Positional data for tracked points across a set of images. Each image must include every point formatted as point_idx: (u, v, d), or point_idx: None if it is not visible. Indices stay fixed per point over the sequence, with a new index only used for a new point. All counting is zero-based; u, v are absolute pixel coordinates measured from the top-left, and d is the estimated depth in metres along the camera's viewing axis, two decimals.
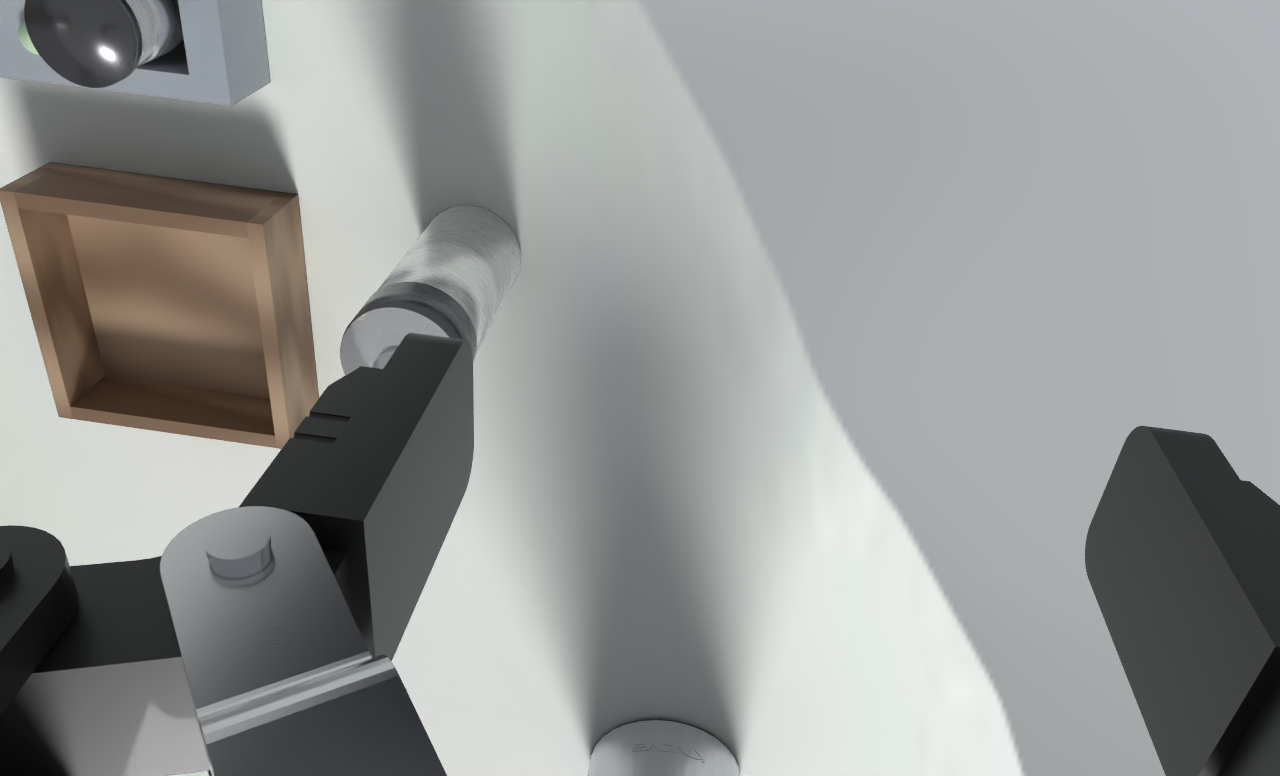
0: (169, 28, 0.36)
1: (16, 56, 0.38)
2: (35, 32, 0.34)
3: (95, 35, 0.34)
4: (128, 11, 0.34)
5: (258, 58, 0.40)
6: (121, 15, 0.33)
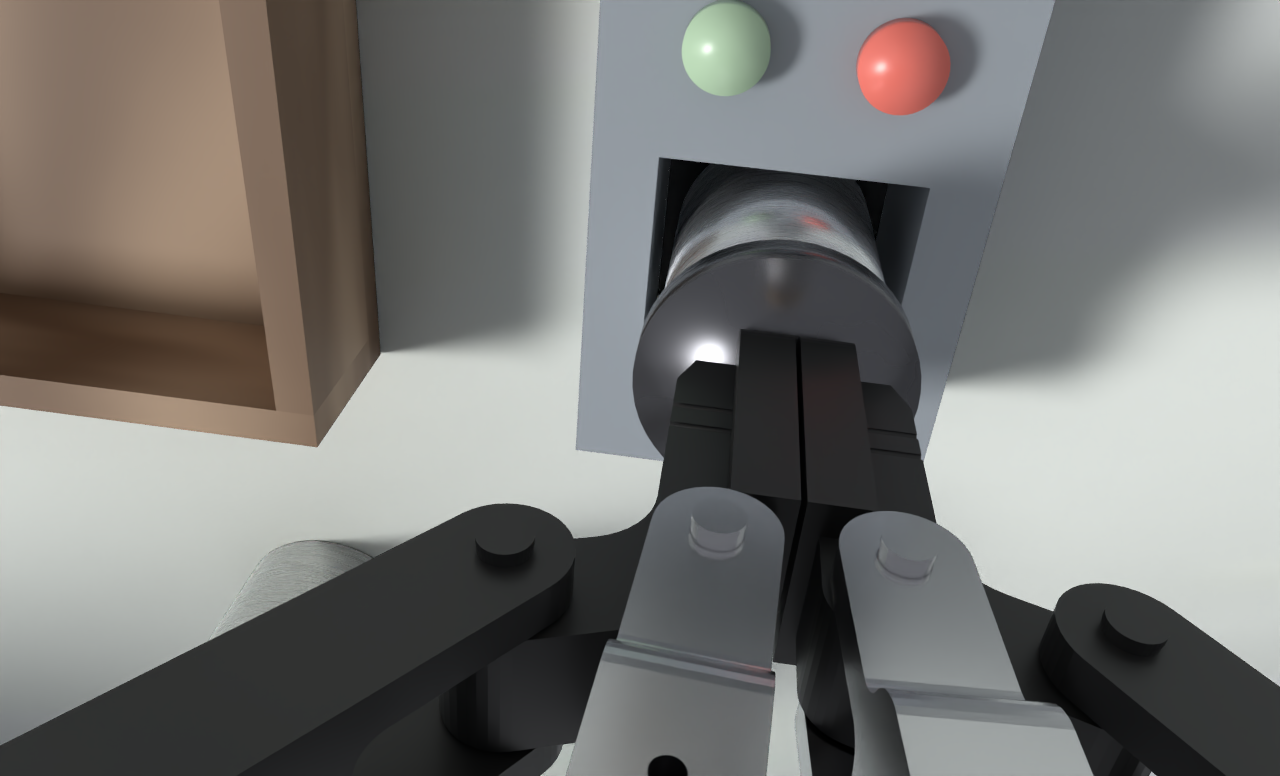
0: None
1: None
2: (776, 282, 0.12)
3: None
4: None
5: None
6: None
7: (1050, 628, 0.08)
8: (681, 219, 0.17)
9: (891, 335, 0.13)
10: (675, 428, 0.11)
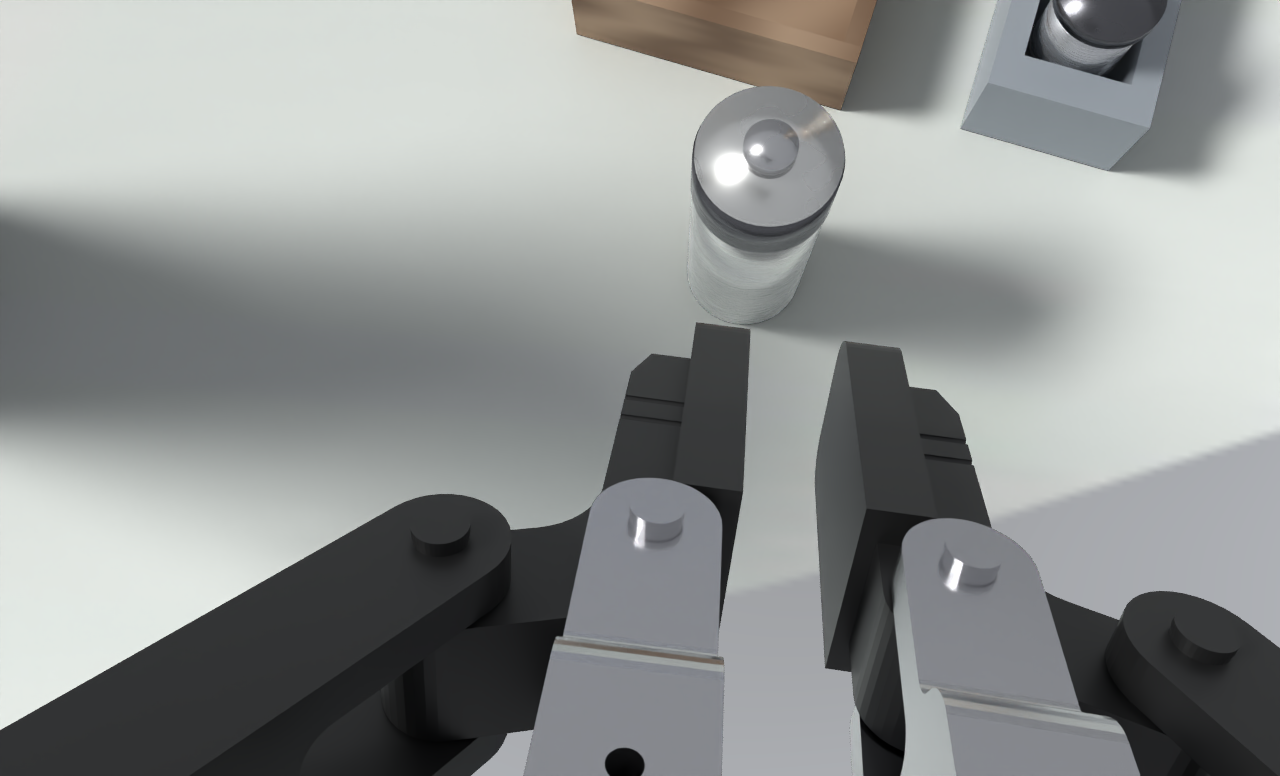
0: None
1: None
2: None
3: (1107, 5, 0.35)
4: (1120, 44, 0.35)
5: (995, 126, 0.39)
6: (1123, 37, 0.35)
7: (1117, 631, 0.08)
8: None
9: None
10: (625, 421, 0.11)
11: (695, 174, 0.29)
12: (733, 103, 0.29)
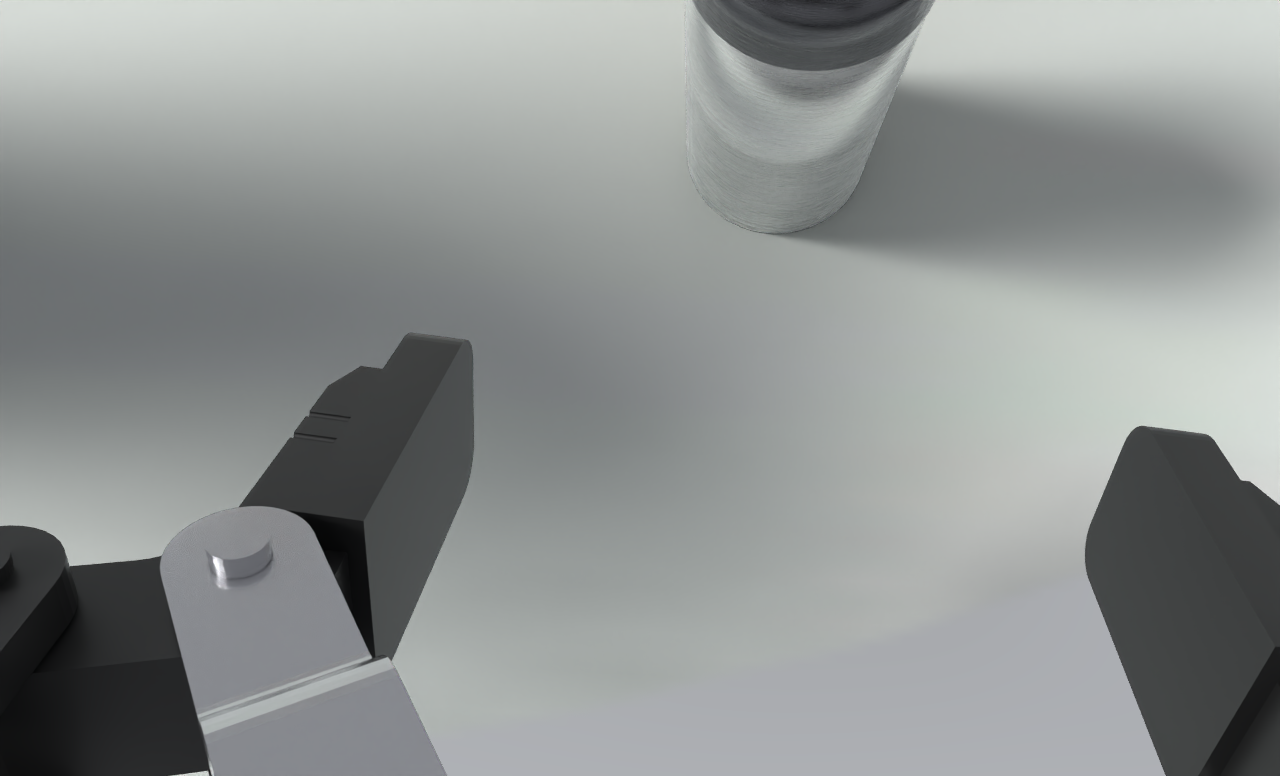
0: None
1: None
2: None
3: None
4: None
5: None
6: None
7: None
8: None
9: None
10: (295, 440, 0.10)
11: None
12: None
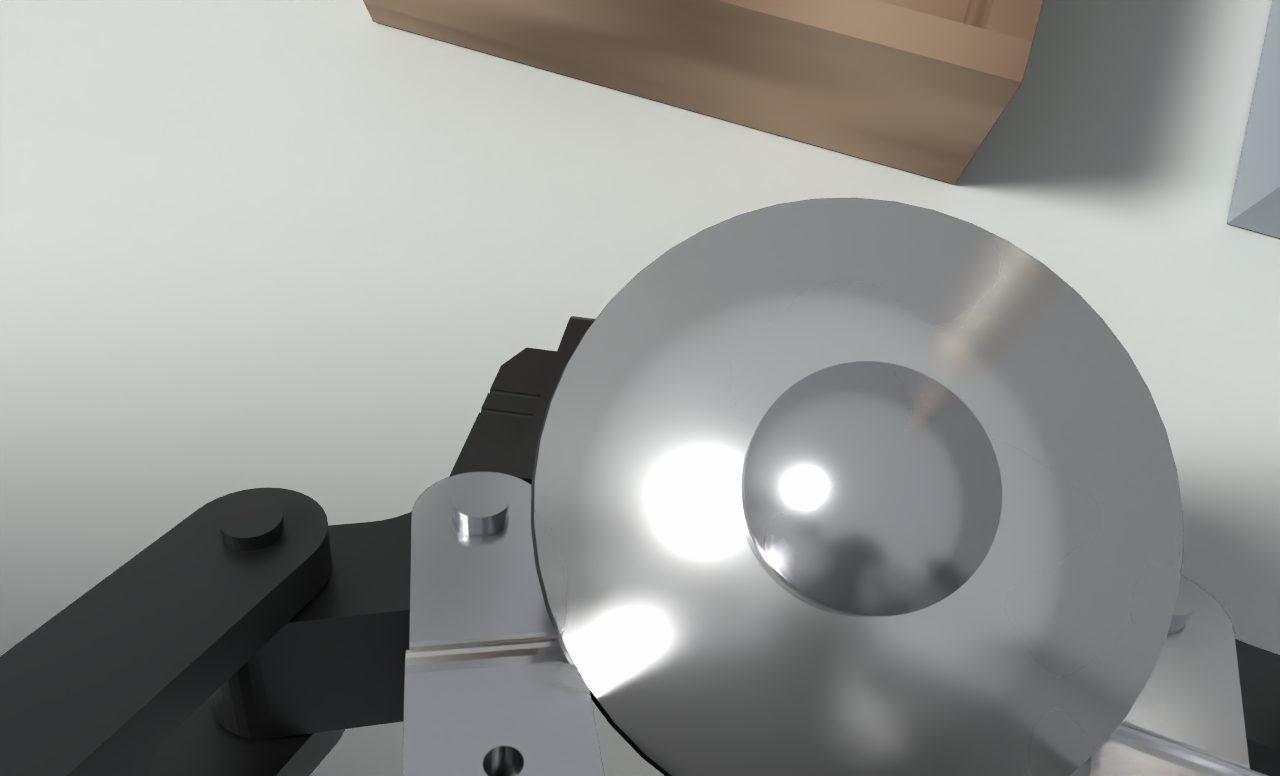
0: None
1: None
2: None
3: None
4: None
5: None
6: None
7: None
8: None
9: None
10: (484, 415, 0.11)
11: (542, 579, 0.07)
12: (699, 272, 0.07)
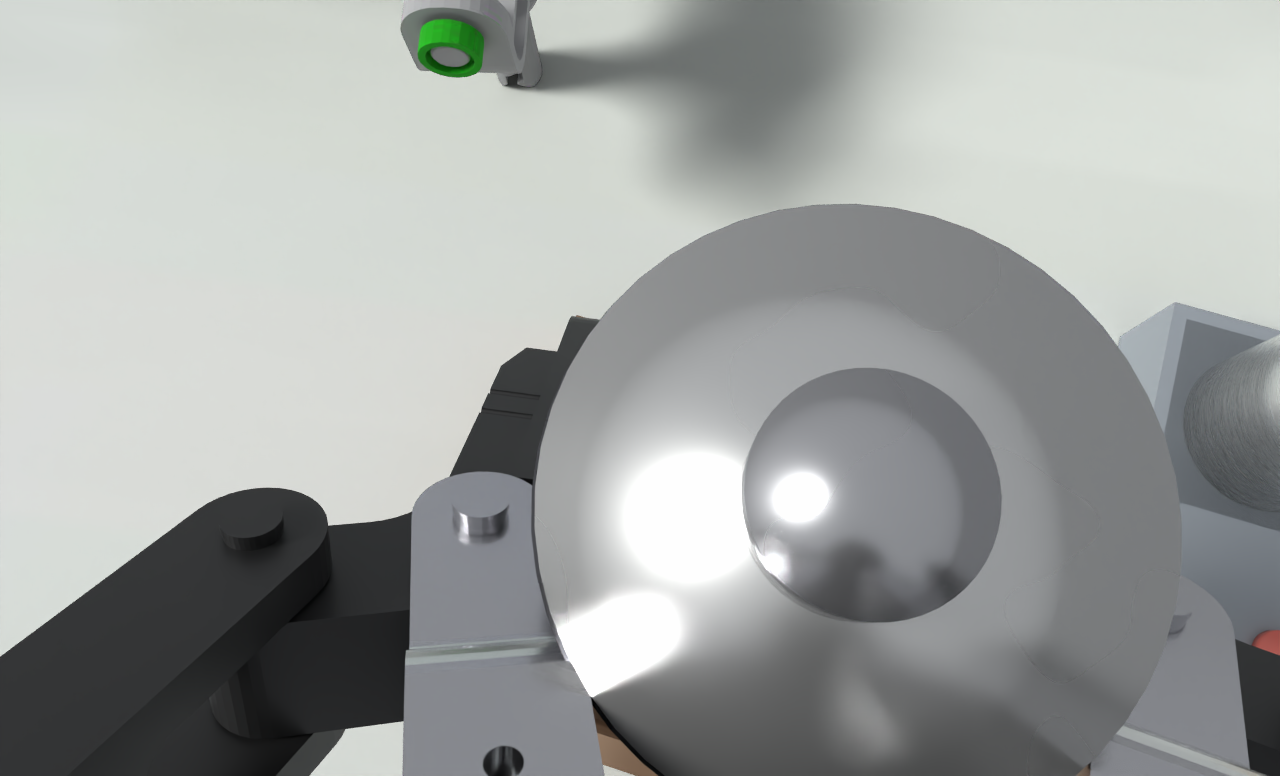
0: None
1: None
2: None
3: None
4: None
5: None
6: None
7: None
8: None
9: None
10: (484, 415, 0.11)
11: (542, 585, 0.07)
12: (700, 278, 0.07)
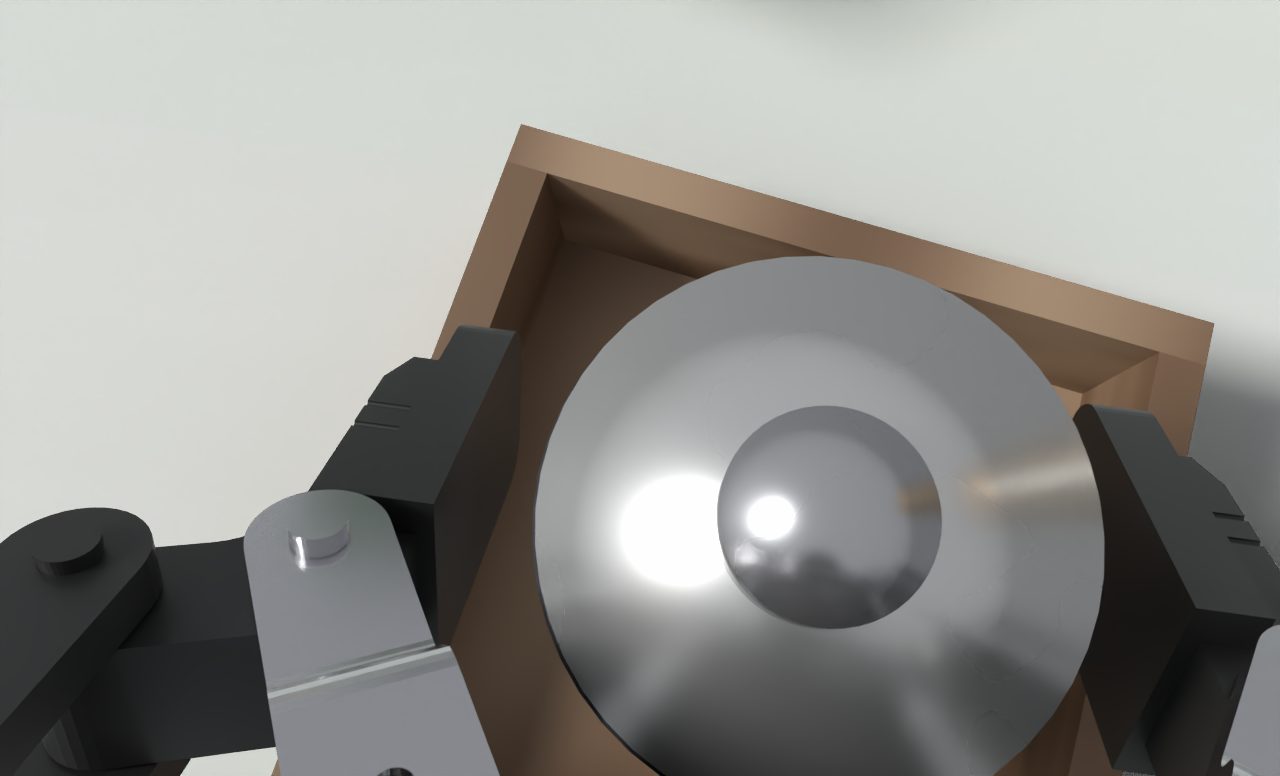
0: None
1: None
2: None
3: None
4: None
5: None
6: None
7: None
8: None
9: None
10: (356, 428, 0.11)
11: (542, 595, 0.08)
12: (681, 322, 0.08)
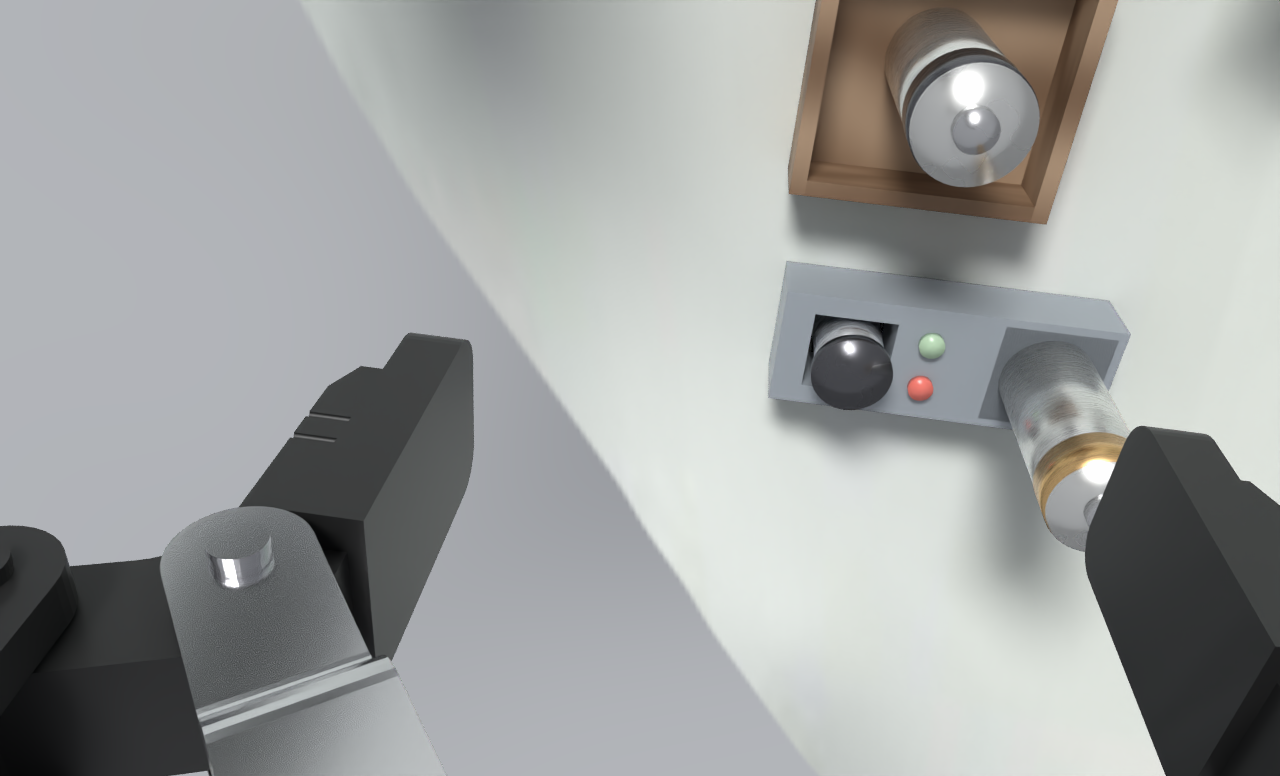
0: (815, 337, 0.49)
1: (961, 330, 0.47)
2: (886, 376, 0.46)
3: (839, 373, 0.47)
4: None
5: (783, 288, 0.50)
6: (813, 384, 0.47)
7: None
8: None
9: (867, 402, 0.47)
10: (295, 440, 0.10)
11: (952, 68, 0.34)
12: (1020, 89, 0.34)
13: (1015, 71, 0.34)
